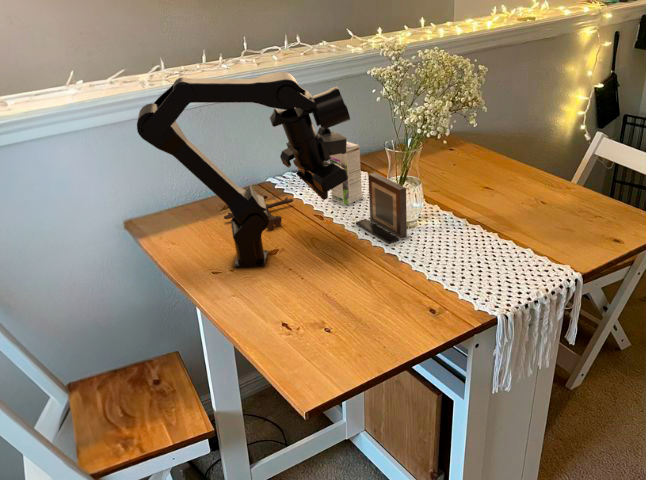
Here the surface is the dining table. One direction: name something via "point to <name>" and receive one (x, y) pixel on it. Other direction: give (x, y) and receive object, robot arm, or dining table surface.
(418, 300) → the dining table surface
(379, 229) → the frame stand
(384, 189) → the picture frame
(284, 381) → the dining table surface
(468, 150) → the dining table surface
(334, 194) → the syrup box
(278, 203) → the brown spindly part
